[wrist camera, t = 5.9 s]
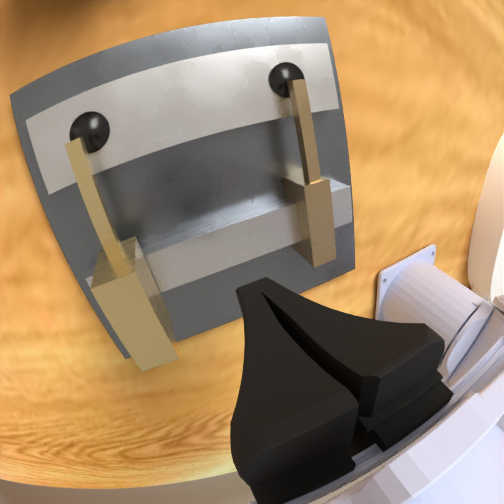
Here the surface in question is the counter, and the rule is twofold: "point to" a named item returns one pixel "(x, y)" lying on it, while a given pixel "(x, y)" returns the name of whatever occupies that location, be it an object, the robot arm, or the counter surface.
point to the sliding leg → (124, 278)
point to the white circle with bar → (489, 233)
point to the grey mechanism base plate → (201, 161)
